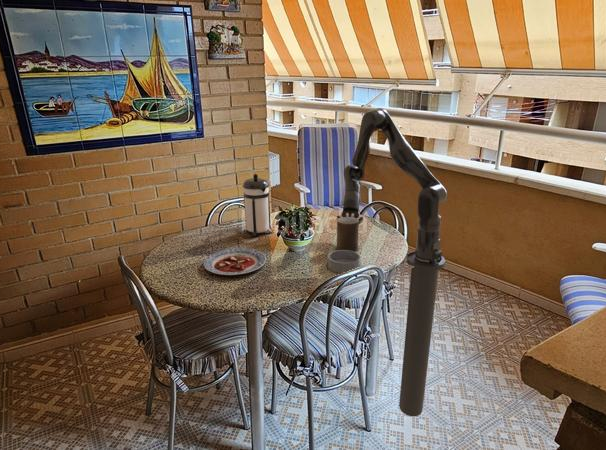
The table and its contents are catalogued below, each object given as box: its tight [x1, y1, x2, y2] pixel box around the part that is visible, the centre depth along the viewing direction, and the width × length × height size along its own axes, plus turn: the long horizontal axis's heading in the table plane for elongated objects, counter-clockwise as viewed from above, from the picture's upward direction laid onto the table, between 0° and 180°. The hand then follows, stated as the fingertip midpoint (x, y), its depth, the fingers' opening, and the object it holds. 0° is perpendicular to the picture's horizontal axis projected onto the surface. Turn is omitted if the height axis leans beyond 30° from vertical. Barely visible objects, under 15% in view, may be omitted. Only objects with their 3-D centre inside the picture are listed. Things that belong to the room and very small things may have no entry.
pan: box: [327, 249, 362, 274], centre depth 168 cm, size 13×13×4 cm
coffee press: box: [242, 173, 274, 238], centre depth 203 cm, size 17×16×30 cm
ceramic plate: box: [203, 247, 267, 276], centre depth 170 cm, size 26×26×3 cm
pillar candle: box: [336, 217, 360, 252], centre depth 184 cm, size 10×10×15 cm
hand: (348, 235), depth 190 cm, fingers closed
